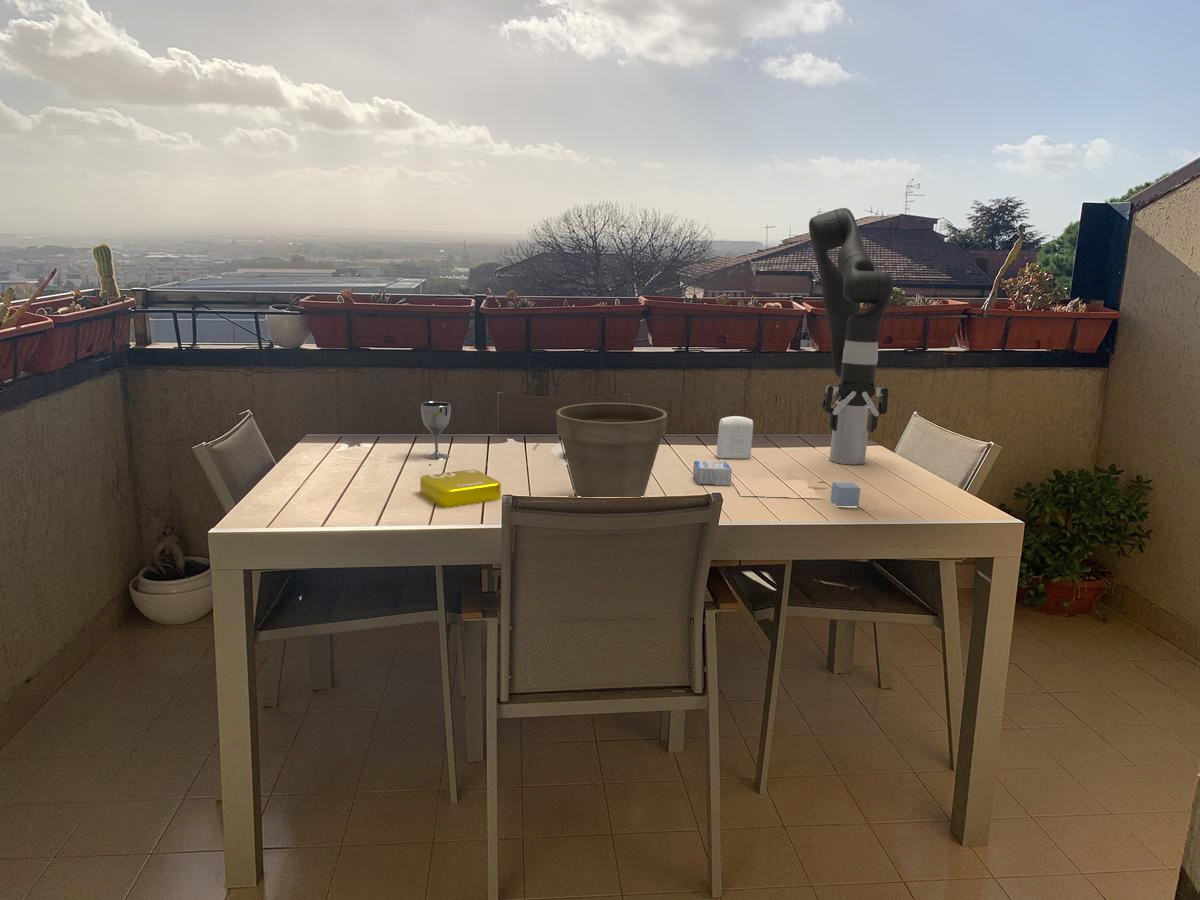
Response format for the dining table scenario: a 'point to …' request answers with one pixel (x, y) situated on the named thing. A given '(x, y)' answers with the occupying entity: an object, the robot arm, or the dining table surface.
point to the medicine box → (712, 472)
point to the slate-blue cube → (845, 494)
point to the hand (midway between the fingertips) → (852, 430)
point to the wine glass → (436, 423)
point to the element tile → (460, 488)
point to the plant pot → (610, 446)
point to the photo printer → (735, 437)
